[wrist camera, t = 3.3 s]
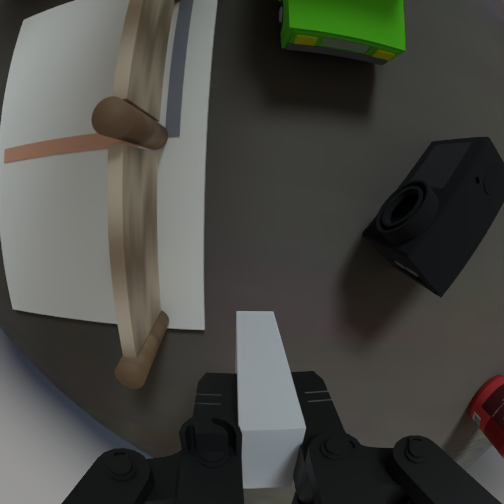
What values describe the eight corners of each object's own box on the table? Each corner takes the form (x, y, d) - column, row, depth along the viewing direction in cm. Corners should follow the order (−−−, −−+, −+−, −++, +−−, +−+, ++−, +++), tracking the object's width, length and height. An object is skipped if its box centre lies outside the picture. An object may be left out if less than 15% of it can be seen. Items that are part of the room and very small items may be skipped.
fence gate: (140, 154, 18) (93, 144, 11) (166, 153, 18) (129, 141, 12) (147, 329, 21) (117, 386, 14) (170, 330, 22) (147, 390, 15)
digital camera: (423, 129, 20) (480, 119, 13) (459, 176, 21) (515, 181, 14) (350, 223, 21) (396, 244, 15) (393, 266, 22) (442, 298, 16)
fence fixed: (162, -10, 15) (138, -70, 8) (185, -13, 15) (168, -76, 8) (142, 150, 19) (89, 137, 11) (167, 149, 19) (126, 133, 11)
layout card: (26, 21, 15) (23, 19, 14) (220, -19, 16) (220, -24, 15) (16, 306, 22) (12, 309, 21) (205, 326, 23) (204, 330, 22)
